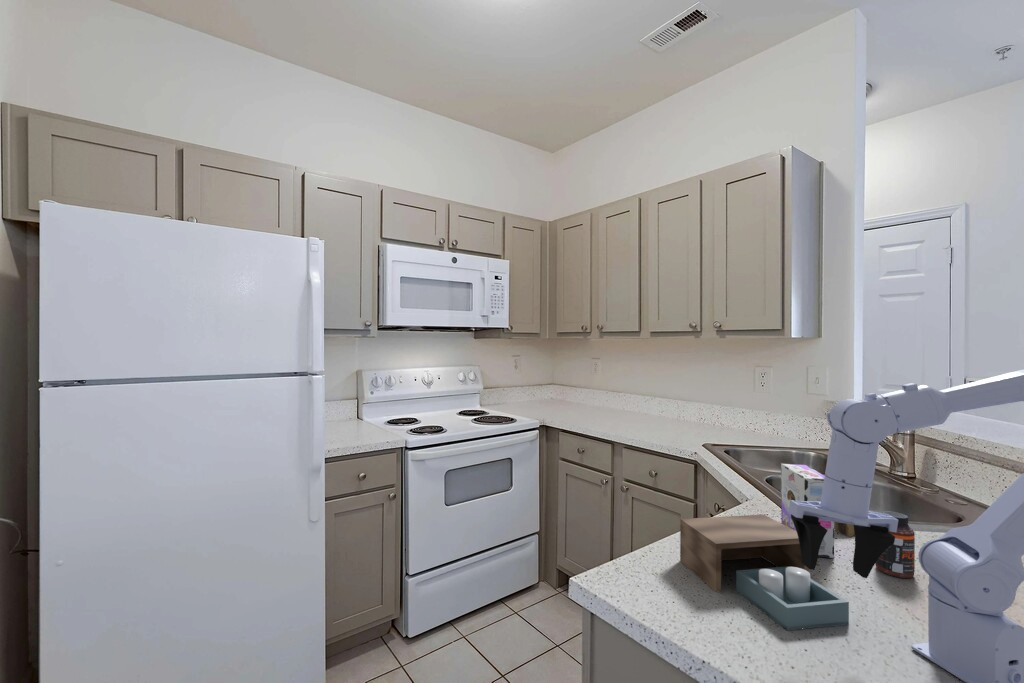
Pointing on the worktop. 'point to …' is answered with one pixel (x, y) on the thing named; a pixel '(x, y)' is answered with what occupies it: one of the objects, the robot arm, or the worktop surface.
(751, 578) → the tray
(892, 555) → the supplement bottle
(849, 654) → the worktop surface
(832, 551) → the candy box
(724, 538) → the shelf
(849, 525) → the rock
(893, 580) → the worktop surface
